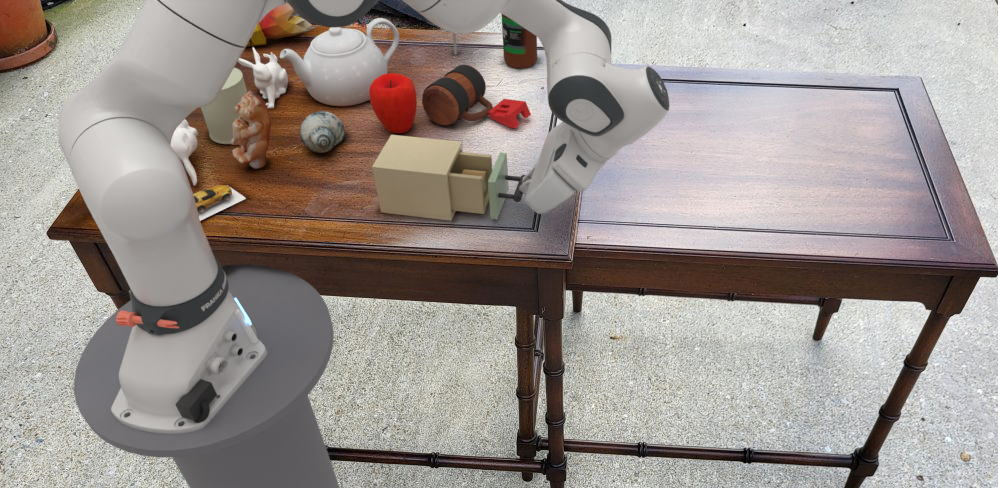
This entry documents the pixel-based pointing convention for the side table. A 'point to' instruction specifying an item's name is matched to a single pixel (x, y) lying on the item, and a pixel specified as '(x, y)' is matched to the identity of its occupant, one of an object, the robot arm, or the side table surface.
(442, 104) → the mug
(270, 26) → the torch
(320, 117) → the seashell
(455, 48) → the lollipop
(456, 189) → the drawer
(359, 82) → the teapot
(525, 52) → the bottle
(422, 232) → the side table surface
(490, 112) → the bracket
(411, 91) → the apple
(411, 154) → the cabinet
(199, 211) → the toy car
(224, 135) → the can
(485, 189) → the block
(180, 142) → the rabbit
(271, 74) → the rabbit figurine
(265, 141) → the figurine
